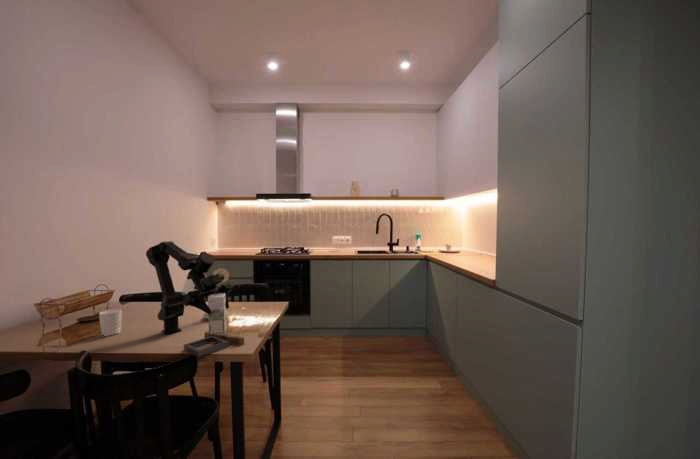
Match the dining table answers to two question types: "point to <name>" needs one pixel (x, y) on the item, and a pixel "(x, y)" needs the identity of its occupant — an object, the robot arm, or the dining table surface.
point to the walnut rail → (227, 338)
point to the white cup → (110, 321)
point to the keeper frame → (219, 345)
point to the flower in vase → (226, 276)
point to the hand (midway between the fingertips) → (219, 310)
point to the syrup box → (217, 313)
